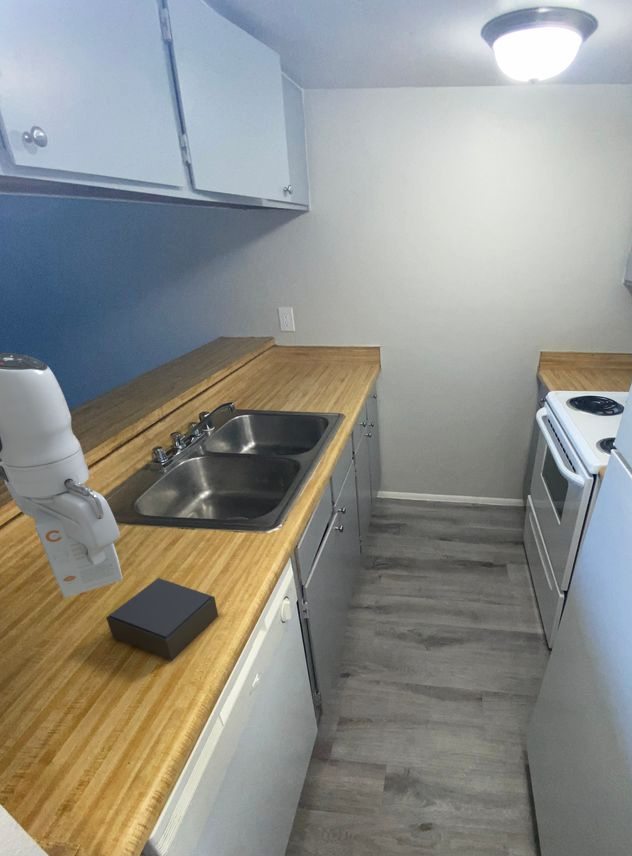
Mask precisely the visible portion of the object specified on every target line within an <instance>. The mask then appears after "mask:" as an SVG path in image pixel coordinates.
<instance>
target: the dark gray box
mask: <svg viewBox="0 0 632 856" xmlns="http://www.w3.org/2000/svg"><path fill="white" fill-rule="evenodd" d="M218 617H219V613H218V608H217V602H216V598H215V596H214V595H211V594H207V593H205V592H201V591H198V590H195V589H193V588H190V587H187V586H184V585H180V584H178V583H175V582H173V581H169V580H166V579H163V578H161V577H157V578H156V579H155V580H153V581H152V582H150V583H149V584H148V585H147V586H146V587H144V588H143V589H141V590H140V591H139V592H137V593H136V594H135V595H134V596H132V597H131V598H129V599H128V600H127V601H126V602H124V603H123V604H122V605H120V606H119V607H118V608H117V609H115V610H114V611H113V612H111V613H110V614H109V615H108V616H106V617H105V619H106V621H107V625H108V627H109V630H110V633H111V637H112V639H116V640H117V641H120V642H123V643H125V644H127V645H130V646H133V647H135V648H137V649H141V650H143V651H145V652H148V653H150V654H152V655H156V656H158V657H160V658H163V659H166V660H168V661H170V662H172V661H174V660H175V659H176V658H177V657H178V656H179V655H180V654H181V653H182V652H183V651H184V650H185V649H186V648H187V647H188V646H189V645H190V644H191V643H192V642H193V641H194V640H195V639H197V637H198V636H199V635H200V634H202V632H203V631H204V630H206V628H208V626H210V625H211V623H213V622H214V621H215V620H216V619H217V618H218Z"/></svg>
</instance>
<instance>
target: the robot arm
mask: <svg viewBox="0 0 632 856" xmlns="http://www.w3.org/2000/svg"><path fill="white" fill-rule="evenodd" d="M0 459H1V461H0V479H1V480H3V481H4V485H5V486H6V488H7V491H8V492H9V494H10V497H11V498H12V501H14V503H15V505H16V507H17V508H18V509H19V510H20V511H21V512H22V514H24V515H25V516H28V517H30V518H32V519H34V520H35V518H36V509H38V510H40V511H42V512H44V513H46V514H48V515H50V516H52V517H54V518H56V519H58V520H60V521H61V522H62V525H63V528H64V531H65V533H66V535H67V536H68V537H70V538H72V539H74V540H76V541H78V542H80V543H82V544H84V545H85V547H87V548H88V552H87V553H85V555H86V557H87V560H88V561H89V562H90V563H92V564H94V565H97V564H99V563H101V562H103V561H104V560H105V555H104V552H103V549H104V548H105V547H107V546H109V545H110V544H112V543H116V542H117V541H119V538H120V536H121V533H120V530H119V526H118V524H117V521H116V519H115V516H114V513H113V511H112V509H111V507H110V504H109V503H108V501H107V500H106V498H105V497H104V496H103V495H102V494H101V493H99V492H98V491H95V490H93V489H92V488H91V487H90V486H88V485H83V484H85V483H86V482H87V481H88V480H89V478H90V476H91V475H90V471H89V468H88V465H87V461H86V457H85V455H84V451H83V449H82V446H81V443H80V441H79V440H78V438H77V436H76V435H75V434H74V432H73V428H72V415H71V411H70V409H69V406H68V403H67V400H66V398H65V395H64V392H63V389H62V388H61V386H60V383H59V382H58V380H57V378H56V376H55V374H54V372H53V371H52V370H51V368H50V367H49V365H47V364H46V363H45V362H43V360H40V359H38V358H35V357H32V356H31V355H27V354H20V353H12V352H0Z"/></svg>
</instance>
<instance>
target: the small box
mask: <svg viewBox="0 0 632 856" xmlns="http://www.w3.org/2000/svg"><path fill="white" fill-rule="evenodd" d="M34 529H35V530H36V533H37V536H38V538H39V540H40V544H41V546H42V548H43V551H44V553H45V556H46V558H47V560H48V562H49V565H50V568H51V571H52V573H53V576H54V578H55V580H56V583H57V585H58V589H59V590H60V593H61V595H62V597H63V598H64V599H67V598H70V597H73V596H76V595H79V594H82V593H85V592H89V591H92V590H96V589H99V588H102V587H105V586H109V585H111V584H116V583H118V582H121V581H123V574H122V570H121V564H120V560H119V557H118V553H117V550H116V547H115V544H114V543H115V542H114V543H112V544H110V545H109V546H107V547H105V548H104V549H103V552H104V555H105V560H104V561H103V562H101V563H99V564H97V565H94V564H92V563H90V562H89V561H88V560H87V557H86V555H85V553H87V552H88V548H87V547H85V545H84V544H82V543H80V542H78V541H76V540H74V539H72V538H70V537H68V536H67V535H66V533H65V531H64V528H63V525H62V522H61V521H60V520H58V519H56V518H54V517H52V516H50V515H48V514H46V513H44V512H42V511H40V510H38V509H36V518H35V519H34Z"/></svg>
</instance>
